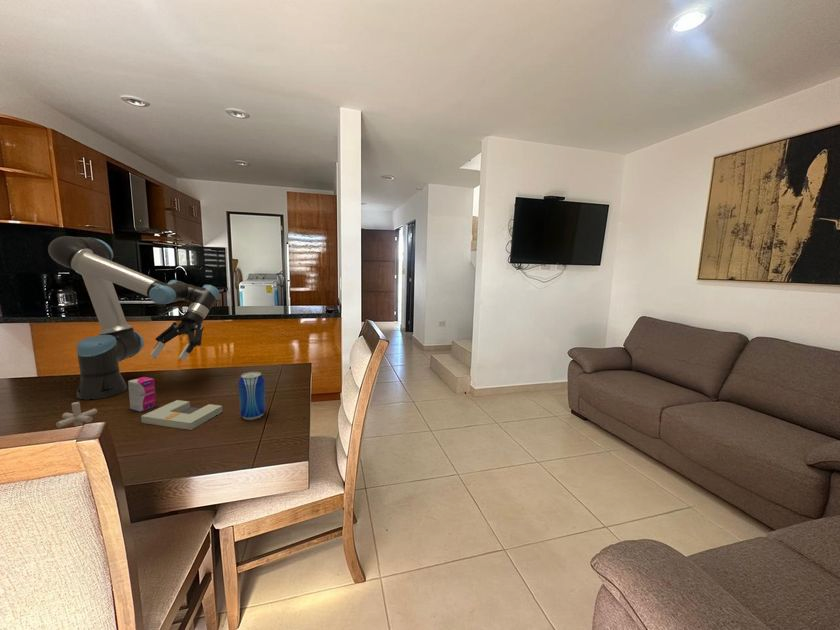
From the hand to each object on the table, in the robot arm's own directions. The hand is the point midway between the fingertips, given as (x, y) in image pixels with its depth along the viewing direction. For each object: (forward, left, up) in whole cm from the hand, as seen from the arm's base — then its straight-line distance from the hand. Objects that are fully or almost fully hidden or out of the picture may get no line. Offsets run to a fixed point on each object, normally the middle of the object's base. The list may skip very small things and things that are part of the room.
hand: (167, 358), depth 135 cm
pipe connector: (+27, -13, -17) cm, 34 cm away
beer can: (+20, +38, -17) cm, 46 cm away
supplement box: (+10, -4, -17) cm, 20 cm away
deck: (+19, +14, -17) cm, 29 cm away
